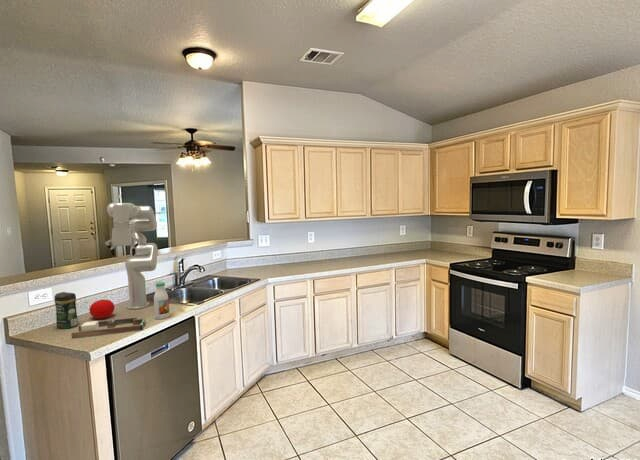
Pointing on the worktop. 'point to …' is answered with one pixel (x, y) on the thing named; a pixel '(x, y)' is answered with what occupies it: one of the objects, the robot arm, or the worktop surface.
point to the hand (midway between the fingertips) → (123, 256)
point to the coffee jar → (66, 310)
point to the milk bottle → (161, 302)
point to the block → (90, 326)
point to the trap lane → (112, 330)
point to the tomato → (101, 309)
